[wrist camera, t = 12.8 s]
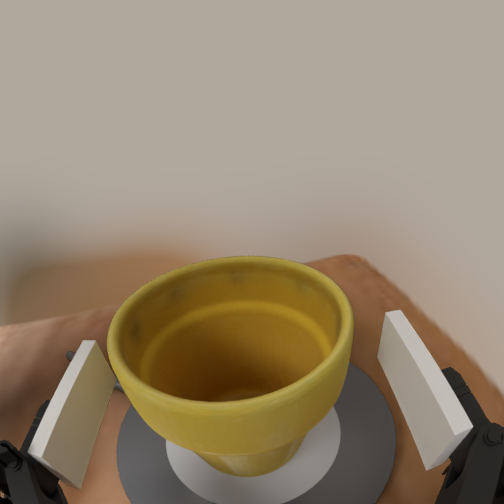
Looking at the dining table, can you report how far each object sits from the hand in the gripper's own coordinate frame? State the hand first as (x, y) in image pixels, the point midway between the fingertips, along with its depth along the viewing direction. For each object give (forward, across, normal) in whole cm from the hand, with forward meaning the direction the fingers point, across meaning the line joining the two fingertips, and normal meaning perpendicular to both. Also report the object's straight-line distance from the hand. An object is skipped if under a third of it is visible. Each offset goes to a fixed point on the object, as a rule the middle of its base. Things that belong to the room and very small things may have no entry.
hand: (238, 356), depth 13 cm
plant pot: (+1, 0, -8) cm, 8 cm away
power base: (+3, -5, -9) cm, 11 cm away
